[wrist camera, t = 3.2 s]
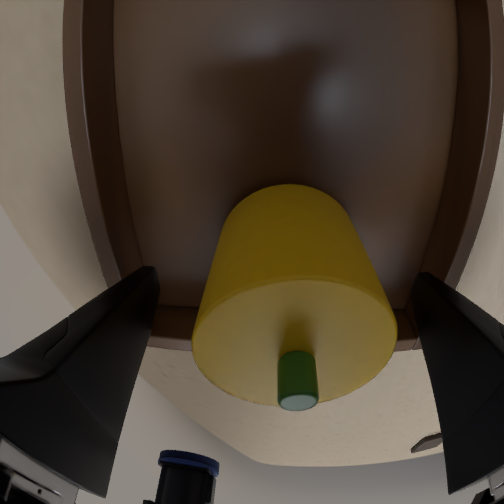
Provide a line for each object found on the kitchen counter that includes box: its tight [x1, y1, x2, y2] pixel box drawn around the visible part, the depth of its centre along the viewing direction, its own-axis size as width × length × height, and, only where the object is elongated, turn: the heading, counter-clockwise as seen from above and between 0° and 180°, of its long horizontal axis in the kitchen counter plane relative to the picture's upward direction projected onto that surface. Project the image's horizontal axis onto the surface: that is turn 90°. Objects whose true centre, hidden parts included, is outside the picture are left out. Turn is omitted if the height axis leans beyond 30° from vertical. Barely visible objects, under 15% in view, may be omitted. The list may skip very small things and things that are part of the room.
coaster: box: [411, 433, 443, 453], centre depth 25 cm, size 4×4×1 cm
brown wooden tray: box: [63, 0, 504, 352], centre depth 9 cm, size 14×16×2 cm
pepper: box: [191, 184, 398, 411], centre depth 8 cm, size 5×5×7 cm
